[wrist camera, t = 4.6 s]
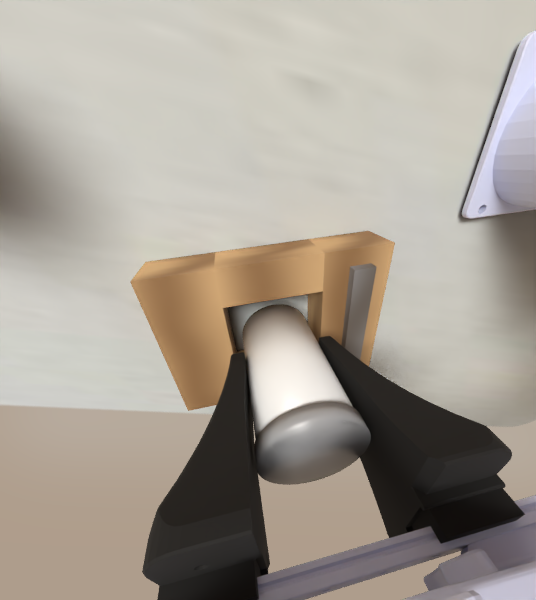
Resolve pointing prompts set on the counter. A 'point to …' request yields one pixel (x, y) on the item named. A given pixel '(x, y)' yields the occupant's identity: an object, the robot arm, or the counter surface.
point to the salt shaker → (297, 401)
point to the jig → (260, 300)
